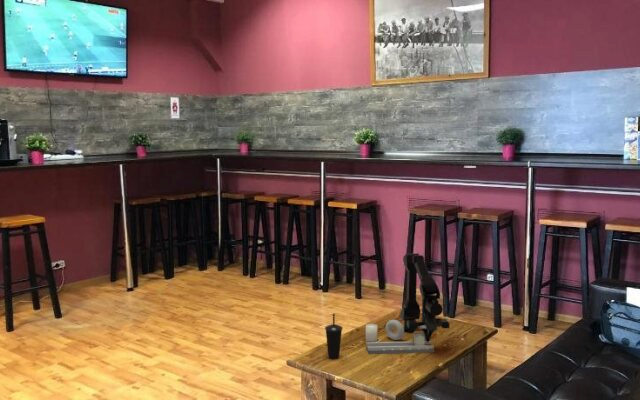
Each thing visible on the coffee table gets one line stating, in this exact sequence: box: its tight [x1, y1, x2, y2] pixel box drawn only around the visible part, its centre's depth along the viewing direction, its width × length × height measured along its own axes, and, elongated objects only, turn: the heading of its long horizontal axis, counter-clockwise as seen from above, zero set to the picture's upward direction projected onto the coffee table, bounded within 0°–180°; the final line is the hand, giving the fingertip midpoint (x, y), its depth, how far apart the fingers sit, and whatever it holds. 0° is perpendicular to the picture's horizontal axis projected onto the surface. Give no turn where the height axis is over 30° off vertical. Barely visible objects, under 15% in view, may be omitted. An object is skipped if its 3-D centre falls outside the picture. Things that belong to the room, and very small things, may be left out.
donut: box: [384, 319, 405, 341], centre depth 286 cm, size 10×4×10 cm, turn 50°
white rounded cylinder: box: [365, 323, 378, 343], centre depth 286 cm, size 6×6×7 cm
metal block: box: [413, 330, 426, 341], centre depth 285 cm, size 5×5×4 cm
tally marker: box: [413, 333, 425, 346], centre depth 274 cm, size 4×4×5 cm
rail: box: [365, 340, 435, 355], centre depth 273 cm, size 8×30×3 cm, turn 93°
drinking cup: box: [324, 313, 343, 360], centre depth 264 cm, size 8×8×20 cm
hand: (427, 341), depth 274 cm, fingers closed
